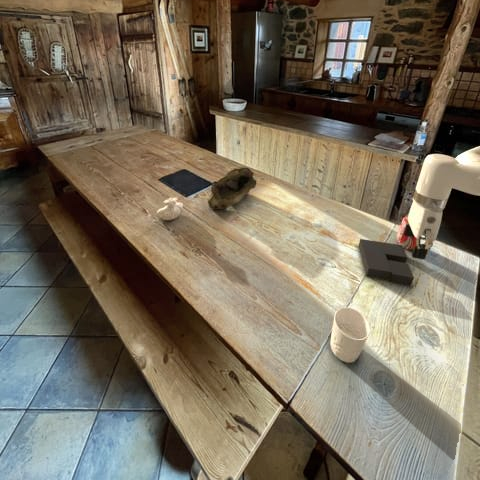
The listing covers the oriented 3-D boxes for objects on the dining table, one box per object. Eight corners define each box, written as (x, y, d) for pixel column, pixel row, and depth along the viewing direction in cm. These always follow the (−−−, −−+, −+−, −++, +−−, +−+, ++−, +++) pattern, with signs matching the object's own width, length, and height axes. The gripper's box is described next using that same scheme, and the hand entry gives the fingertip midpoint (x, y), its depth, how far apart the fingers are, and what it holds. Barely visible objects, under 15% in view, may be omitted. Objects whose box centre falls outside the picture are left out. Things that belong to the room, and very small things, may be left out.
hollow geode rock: (250, 195, 137) (236, 170, 139) (265, 187, 128) (250, 160, 130) (209, 218, 118) (193, 188, 120) (223, 210, 109) (206, 178, 111)
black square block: (405, 271, 89) (408, 263, 87) (410, 286, 83) (414, 278, 82) (385, 267, 90) (388, 259, 89) (389, 281, 85) (392, 273, 83)
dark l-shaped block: (399, 252, 96) (401, 244, 95) (413, 284, 84) (416, 276, 83) (358, 246, 99) (360, 238, 98) (366, 276, 87) (368, 268, 85)
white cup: (357, 373, 62) (367, 347, 57) (324, 353, 65) (330, 327, 61) (363, 343, 68) (372, 317, 63) (332, 326, 71) (338, 301, 67)
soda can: (392, 237, 104) (400, 212, 99) (411, 239, 103) (421, 213, 98) (399, 250, 97) (408, 224, 92) (420, 252, 97) (430, 226, 91)
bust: (158, 227, 110) (163, 218, 102) (151, 211, 112) (155, 201, 104) (184, 216, 117) (191, 207, 108) (177, 201, 119) (183, 191, 111)
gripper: (458, 219, 65) (437, 270, 72) (434, 185, 80) (419, 230, 87) (423, 214, 67) (406, 264, 74) (406, 181, 82) (393, 226, 89)
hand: (413, 246), depth 80 cm, fingers open, 9 cm apart
